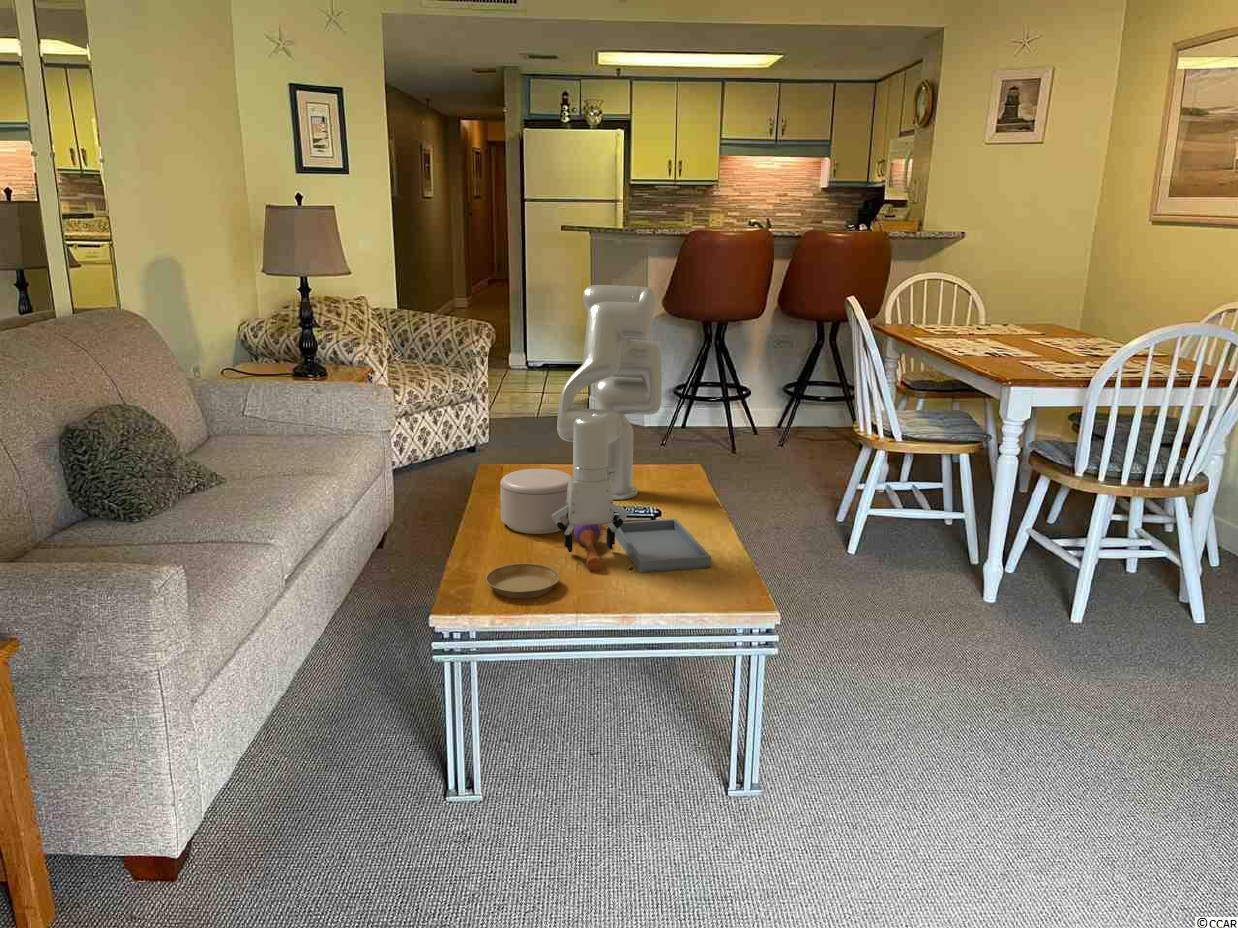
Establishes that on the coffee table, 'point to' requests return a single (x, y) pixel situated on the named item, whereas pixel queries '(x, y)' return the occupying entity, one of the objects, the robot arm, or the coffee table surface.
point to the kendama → (589, 544)
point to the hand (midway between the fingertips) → (589, 548)
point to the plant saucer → (522, 580)
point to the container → (533, 499)
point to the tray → (661, 546)
